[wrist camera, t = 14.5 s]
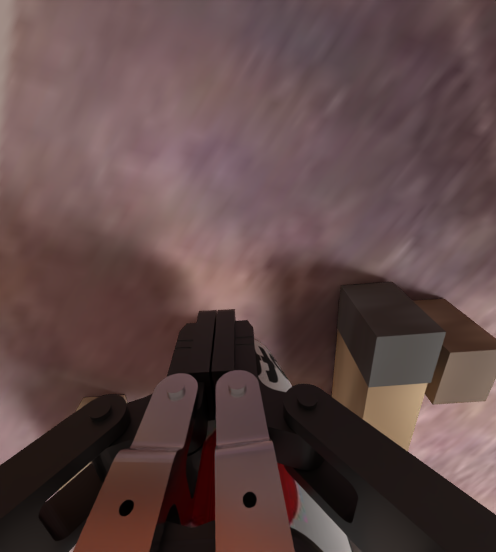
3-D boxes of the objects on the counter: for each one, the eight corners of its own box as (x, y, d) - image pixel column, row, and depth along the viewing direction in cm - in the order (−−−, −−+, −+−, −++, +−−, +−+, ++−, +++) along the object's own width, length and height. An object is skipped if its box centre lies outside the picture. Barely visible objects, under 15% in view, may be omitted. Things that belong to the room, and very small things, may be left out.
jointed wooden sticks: (444, 298, 15) (508, 348, 12) (387, 490, 23) (415, 555, 19) (51, 322, 15) (-7, 382, 11) (130, 508, 23) (111, 577, 19)
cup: (328, 356, 17) (437, 616, 8) (244, 432, 19) (251, 689, 10) (213, 283, 14) (175, 537, 5) (135, 381, 17) (21, 659, 8)
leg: (392, 281, 14) (459, 344, 10) (357, 474, 22) (387, 558, 17) (340, 285, 14) (385, 349, 10) (323, 476, 22) (345, 561, 17)
